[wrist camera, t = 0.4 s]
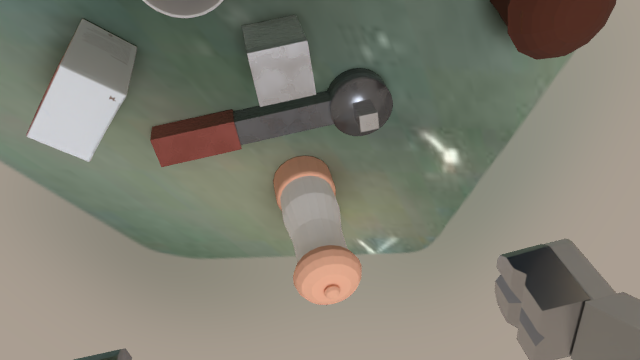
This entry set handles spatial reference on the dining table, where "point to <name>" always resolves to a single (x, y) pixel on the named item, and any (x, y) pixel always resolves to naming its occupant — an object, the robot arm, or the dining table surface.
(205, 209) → the dining table surface
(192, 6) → the cup
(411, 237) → the dining table surface
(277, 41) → the light grey cube
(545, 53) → the muffin
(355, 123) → the ratchet
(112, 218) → the dining table surface
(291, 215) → the pepper shaker
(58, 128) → the small box
